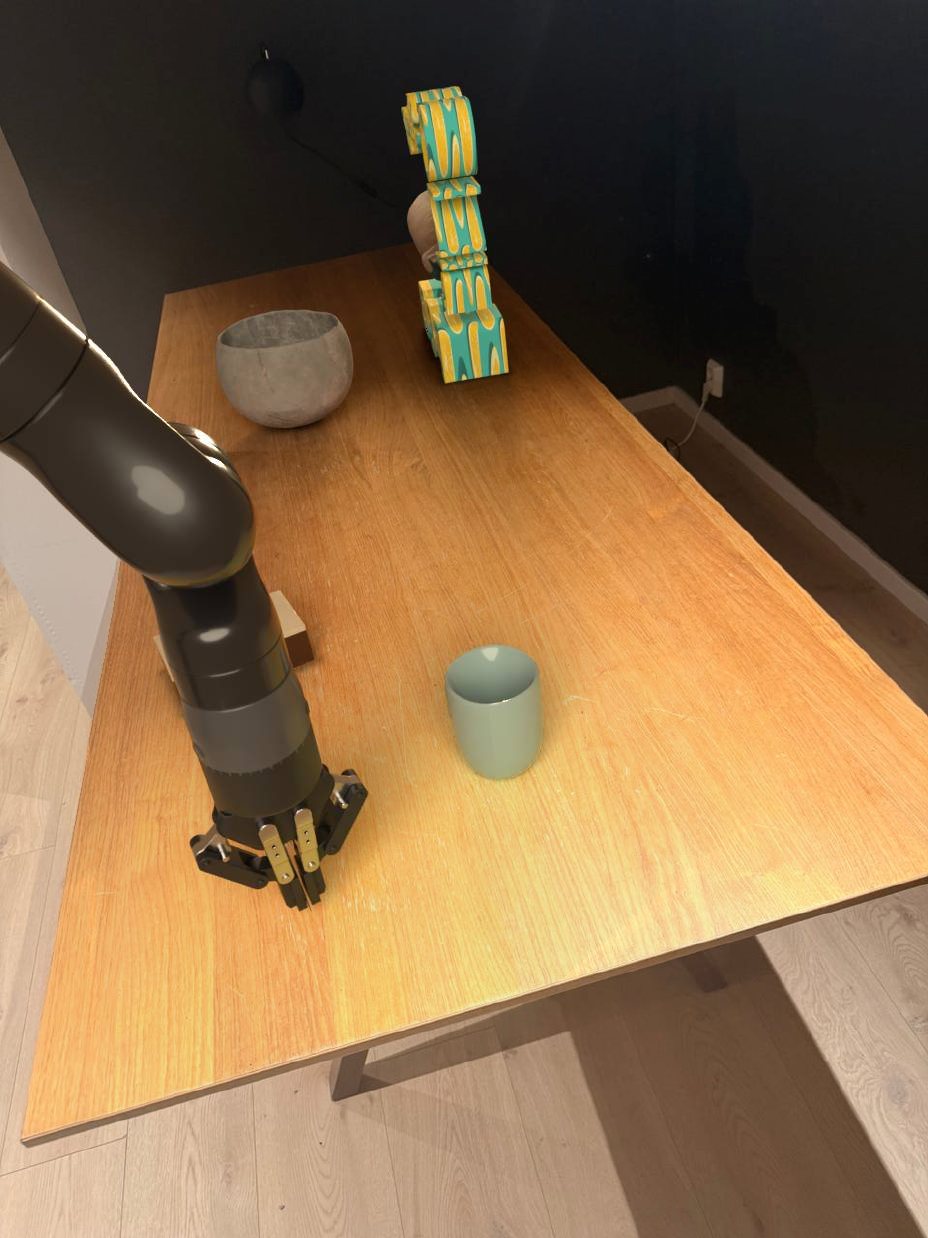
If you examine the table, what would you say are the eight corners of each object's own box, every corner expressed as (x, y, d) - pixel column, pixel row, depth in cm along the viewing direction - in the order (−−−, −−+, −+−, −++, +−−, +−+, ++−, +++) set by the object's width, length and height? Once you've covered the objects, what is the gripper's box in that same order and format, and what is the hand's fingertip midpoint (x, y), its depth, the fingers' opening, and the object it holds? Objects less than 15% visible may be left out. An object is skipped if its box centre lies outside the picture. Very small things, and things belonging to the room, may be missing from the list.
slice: (278, 674, 97) (267, 639, 95) (254, 636, 103) (244, 602, 101) (314, 659, 99) (305, 625, 96) (289, 622, 105) (279, 589, 102)
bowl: (356, 441, 141) (336, 342, 132) (221, 455, 142) (193, 358, 133) (368, 386, 157) (351, 296, 149) (247, 400, 159) (223, 311, 150)
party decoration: (509, 374, 155) (484, 97, 131) (439, 385, 154) (401, 110, 131) (478, 314, 180) (452, 74, 157) (418, 324, 179) (383, 84, 156)
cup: (498, 808, 79) (486, 719, 73) (441, 761, 84) (425, 675, 79) (565, 759, 83) (558, 671, 77) (506, 718, 88) (496, 632, 82)
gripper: (326, 661, 66) (367, 829, 76) (137, 735, 62) (207, 903, 72) (368, 720, 61) (406, 894, 71) (163, 806, 56) (235, 978, 66)
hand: (305, 898), depth 71 cm, fingers closed
